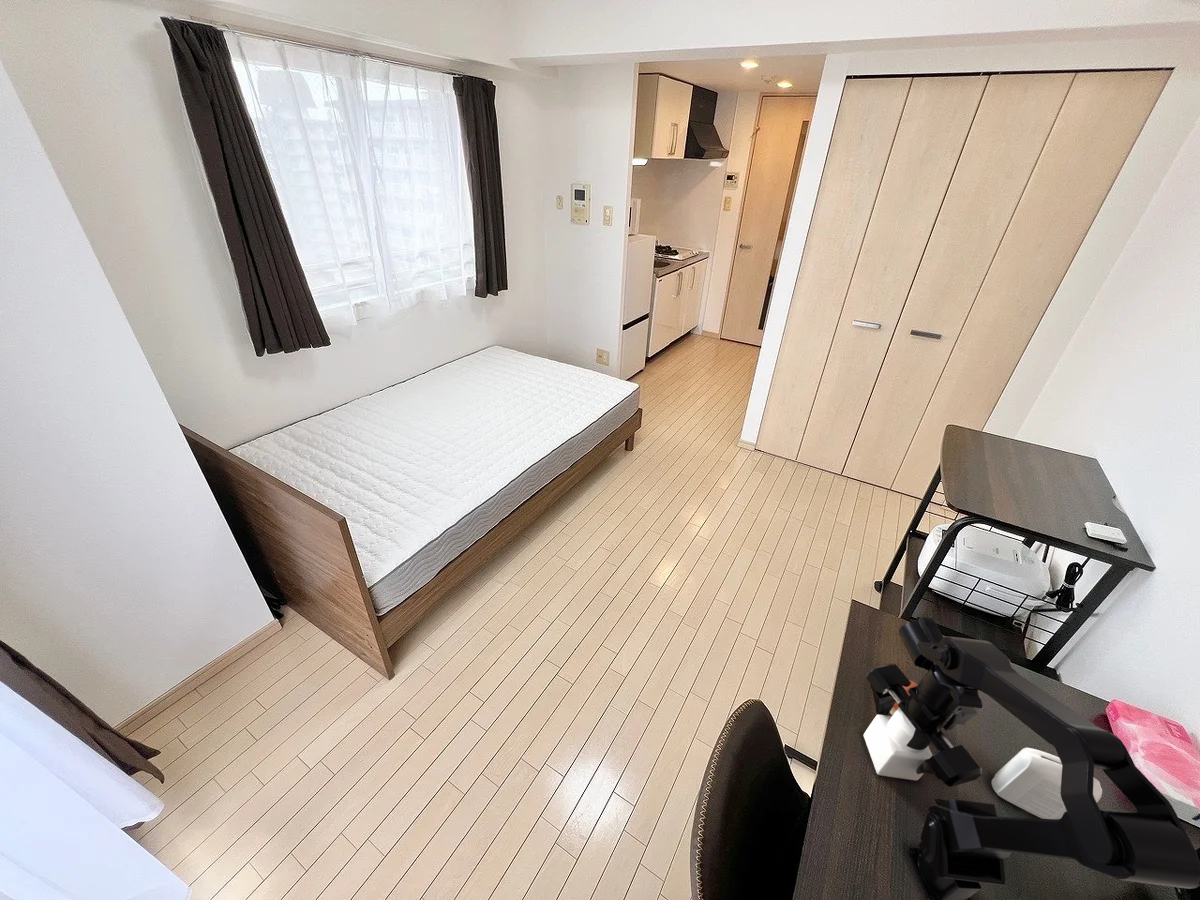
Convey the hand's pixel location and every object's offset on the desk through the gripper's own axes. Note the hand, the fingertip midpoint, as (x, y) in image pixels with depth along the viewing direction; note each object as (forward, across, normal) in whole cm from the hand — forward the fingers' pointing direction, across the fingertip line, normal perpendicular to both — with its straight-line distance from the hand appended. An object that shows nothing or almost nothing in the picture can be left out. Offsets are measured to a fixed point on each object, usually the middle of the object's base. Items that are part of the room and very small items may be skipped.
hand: (898, 744), depth 85 cm
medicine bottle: (+4, 0, 0) cm, 5 cm away
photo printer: (+4, -11, -19) cm, 22 cm away
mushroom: (+4, +7, -9) cm, 12 cm away
